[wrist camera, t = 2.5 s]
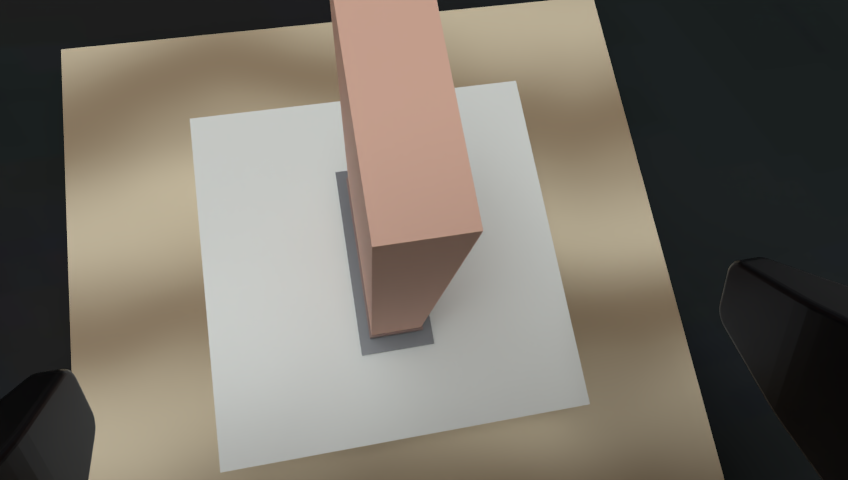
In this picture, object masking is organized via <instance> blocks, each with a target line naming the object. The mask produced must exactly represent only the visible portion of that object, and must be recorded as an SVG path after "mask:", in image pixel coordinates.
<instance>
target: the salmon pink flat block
mask: <svg viewBox="0 0 848 480" xmlns="http://www.w3.org/2000/svg"><path fill="white" fill-rule="evenodd" d="M330 7H331V17H332V26H333V36H334V46H335V55H336V65H337V75H338V84H339V94H340V104H341V114H342V123H343V133H344V143H345V152H346V162H347V172H348V178H346V182H347V188H348V195H349V202H350V208H351V215H352V222H353V228H354V235H355V242H356V249H357V255H358V262H359V269H360V275H361V282H362V289H363V295H364V302H365V309H366V316H367V322H368V329H369V336H370V339H371V338H377V337H383V336H389V335H395V334H402V333H408V332H414V331H420V330H423V323H424V322H425V320H426V319H427V317H428V316H429V314H430V312H431V311H432V309H433V308H434V306H435V305H436V303H437V302H438V300H439V299H440V297H441V295H442V294H443V292H444V291H445V289H446V288H447V286H448V285H449V283H450V282H451V280H452V278H453V277H454V275H455V274H456V272H457V271H458V269H459V268H460V266H461V265H462V263H463V261H464V260H465V258H466V257H467V255H468V254H469V252H470V251H471V249H472V248H473V246H474V245H475V243H476V241H477V240H478V238H479V237H480V235H481V234H482V232H483V227H482V222H481V217H480V212H479V207H478V202H477V197H476V192H475V187H474V182H473V177H472V173H471V168H470V163H469V158H468V153H467V148H466V143H465V138H464V133H463V128H462V123H461V118H460V113H459V108H458V103H457V98H456V93H455V88H454V83H453V78H452V73H451V69H450V64H449V59H448V54H447V49H446V44H445V39H444V34H443V29H442V24H441V19H440V14H439V9H438V4H437V0H330Z"/></svg>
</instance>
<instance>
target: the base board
mask: <svg viewBox="0 0 848 480" xmlns="http://www.w3.org/2000/svg"><path fill="white" fill-rule="evenodd" d="M439 14H440V19H441V24H442V29H443V34H444V39H445V44H446V49H447V54H448V59H449V64H450V69H451V73H452V78H453V83H454V88H457V87H466V86H475V85H483V84H492V83H500V82H509V81H516V83H517V88H518V92H519V96H520V101H521V105H522V109H523V114H524V118H525V122H526V127H527V131H528V136H529V140H530V144H531V149H532V153H533V157H534V162H535V166H536V170H537V175H538V179H539V184H540V188H541V192H542V197H543V201H544V205H545V210H546V214H547V218H548V223H549V227H550V232H551V236H552V240H553V245H554V249H555V253H556V258H557V262H558V266H559V271H560V275H561V280H562V284H563V288H564V293H565V297H566V301H567V306H568V310H569V314H570V319H571V323H572V328H573V332H574V336H575V341H576V345H577V349H578V354H579V358H580V362H581V367H582V371H583V376H584V380H585V384H586V389H587V393H588V397H589V402H590V404H588V405H583V406H578V407H572V408H567V409H561V410H556V411H551V412H545V413H540V414H534V415H529V416H524V417H518V418H513V419H508V420H502V421H497V422H491V423H486V424H481V425H475V426H470V427H464V428H459V429H454V430H448V431H443V432H437V433H432V434H427V435H421V436H416V437H410V438H405V439H400V440H394V441H389V442H383V443H378V444H373V445H367V446H362V447H356V448H351V449H346V450H340V451H335V452H329V453H324V454H319V455H313V456H308V457H302V458H297V459H292V460H286V461H281V462H275V463H270V464H265V465H259V466H254V467H248V468H243V469H238V470H232V471H227V472H222V473H220V463H219V452H218V440H217V429H216V417H215V406H214V394H213V382H212V371H211V359H210V348H209V336H208V325H207V313H206V301H205V290H204V278H203V267H202V255H201V244H200V232H199V221H198V209H197V197H196V186H195V174H194V163H193V151H192V140H191V128H190V119H191V118H199V117H208V116H217V115H225V114H234V113H242V112H251V111H260V110H268V109H277V108H285V107H294V106H303V105H311V104H320V103H328V102H337V101H340V94H339V84H338V75H337V65H336V55H335V46H334V36H333V26H332V22H331V23H321V24H311V25H301V26H291V27H281V28H271V29H261V30H251V31H241V32H231V33H221V34H211V35H201V36H191V37H182V38H172V39H162V40H152V41H142V42H132V43H122V44H112V45H102V46H92V47H82V48H72V49H62V50H61V60H62V91H63V121H64V152H65V183H66V213H67V244H68V274H69V305H70V336H71V366H72V373H73V374H74V375H75V377H76V378H77V381H78V383H79V385H80V387H81V389H82V391H83V393H84V395H85V397H86V399H87V401H88V403H89V406H90V408H91V410H92V412H93V415H94V418H95V425H96V431H95V439H94V445H93V452H92V459H91V466H90V473H89V479H88V480H724V476H723V473H722V469H721V465H720V462H719V458H718V454H717V451H716V447H715V443H714V440H713V436H712V432H711V429H710V425H709V421H708V418H707V414H706V410H705V407H704V403H703V399H702V396H701V392H700V388H699V385H698V381H697V377H696V374H695V370H694V366H693V363H692V359H691V355H690V352H689V348H688V344H687V341H686V337H685V333H684V330H683V326H682V322H681V319H680V315H679V311H678V308H677V304H676V300H675V297H674V293H673V289H672V286H671V282H670V278H669V275H668V271H667V267H666V263H665V260H664V256H663V252H662V249H661V245H660V241H659V238H658V234H657V230H656V227H655V223H654V219H653V216H652V212H651V208H650V205H649V201H648V197H647V194H646V190H645V186H644V183H643V179H642V175H641V172H640V168H639V164H638V161H637V157H636V153H635V150H634V146H633V142H632V139H631V135H630V131H629V128H628V124H627V120H626V117H625V113H624V109H623V106H622V102H621V98H620V95H619V91H618V87H617V84H616V80H615V76H614V73H613V69H612V65H611V62H610V58H609V54H608V51H607V47H606V43H605V40H604V36H603V32H602V29H601V25H600V21H599V18H598V14H597V10H596V7H595V3H594V0H549V1H540V2H530V3H520V4H510V5H500V6H490V7H480V8H470V9H460V10H450V11H440V12H439Z"/></svg>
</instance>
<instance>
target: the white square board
mask: <svg viewBox="0 0 848 480" xmlns="http://www.w3.org/2000/svg"><path fill="white" fill-rule="evenodd" d="M455 93H456V98H457V103H458V108H459V113H460V118H461V123H462V128H463V133H464V138H465V143H466V148H467V153H468V158H469V163H470V168H471V173H472V177H473V182H474V187H475V192H476V197H477V202H478V207H479V212H480V217H481V222H482V227H483V232H482V234H481V235H480V237H479V238H478V240H477V241H476V243H475V245H474V246H473V248H472V249H471V251H470V252H469V254H468V255H467V257H466V258H465V260H464V261H463V263H462V265H461V266H460V268H459V269H458V271H457V272H456V274H455V275H454V277H453V278H452V280H451V282H450V283H449V285H448V286H447V288H446V289H445V291H444V292H443V294H442V295H441V297H440V299H439V300H438V302H437V303H436V305H435V306H434V308H433V309H432V311H431V312H430V314H429V316H428V317H427V319H426V320H425V322H424V323H423V330H420V331H414V332H408V333H402V334H395V335H389V336H383V337H377V338H371V339H370V336H369V329H368V322H367V316H366V309H365V302H364V295H363V289H362V282H361V275H360V269H359V262H358V255H357V249H356V242H355V235H354V228H353V222H352V215H351V208H350V202H349V195H348V188H347V182H346V178H348V172H347V162H346V152H345V143H344V133H343V123H342V114H341V104H340V101H337V102H328V103H320V104H311V105H303V106H294V107H285V108H277V109H268V110H260V111H251V112H242V113H234V114H225V115H217V116H208V117H199V118H191V119H190V128H191V140H192V151H193V163H194V174H195V186H196V197H197V209H198V221H199V232H200V244H201V255H202V267H203V278H204V290H205V301H206V313H207V325H208V336H209V348H210V359H211V371H212V382H213V394H214V406H215V417H216V429H217V440H218V452H219V463H220V473H222V472H227V471H232V470H238V469H243V468H248V467H254V466H259V465H265V464H270V463H275V462H281V461H286V460H292V459H297V458H302V457H308V456H313V455H319V454H324V453H329V452H335V451H340V450H346V449H351V448H356V447H362V446H367V445H373V444H378V443H383V442H389V441H394V440H400V439H405V438H410V437H416V436H421V435H427V434H432V433H437V432H443V431H448V430H454V429H459V428H464V427H470V426H475V425H481V424H486V423H491V422H497V421H502V420H508V419H513V418H518V417H524V416H529V415H534V414H540V413H545V412H551V411H556V410H561V409H567V408H572V407H578V406H583V405H588V404H590V402H589V397H588V393H587V389H586V384H585V380H584V376H583V371H582V367H581V362H580V358H579V354H578V349H577V345H576V341H575V336H574V332H573V328H572V323H571V319H570V314H569V310H568V306H567V301H566V297H565V293H564V288H563V284H562V280H561V275H560V271H559V266H558V262H557V258H556V253H555V249H554V245H553V240H552V236H551V232H550V227H549V223H548V218H547V214H546V210H545V205H544V201H543V197H542V192H541V188H540V184H539V179H538V175H537V170H536V166H535V162H534V157H533V153H532V149H531V144H530V140H529V136H528V131H527V127H526V122H525V118H524V114H523V109H522V105H521V101H520V96H519V92H518V88H517V83H516V81H509V82H500V83H492V84H483V85H475V86H466V87H457V88H455Z"/></svg>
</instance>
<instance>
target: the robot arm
mask: <svg viewBox="0 0 848 480" xmlns="http://www.w3.org/2000/svg"><path fill="white" fill-rule="evenodd" d="M719 309H720V318H721V321H722V323H723V325H724V327H725V329H726V331H727V332H728V334H729V336H730V338H731V339H732V341H733V343H734V344H735V346H736V348H737V350H738V351H739V353H740V355H741V357H742V358H743V360H744V362H745V364H746V365H747V367H748V369H749V371H750V372H751V374H752V376H753V378H754V379H755V381H756V383H757V384H758V386H759V388H760V390H761V391H762V393H763V395H764V397H765V398H766V400H767V402H768V403H769V405H770V406H771V408H772V410H773V411H774V413H775V414H776V416H777V417H778V419H779V420H780V422H781V423H782V425H783V426H784V427H785V429H786V430H787V432H788V433H789V434H790V436H791V437H792V439H793V440H794V441H795V443H796V444H797V445H798V447H799V448H800V450H801V451H802V452H803V454H804V455H805V457H806V458H807V459H808V461H809V462H810V464H811V465H812V466H813V468H814V469H815V471H816V472H817V473H818V475H819V476H820V478H821V479H822V480H848V286H845V285H842V284H839V283H836V282H834V281H831V280H828V279H825V278H822V277H819V276H816V275H813V274H810V273H807V272H804V271H801V270H799V269H796V268H793V267H790V266H787V265H784V264H781V263H778V262H775V261H772V260H769V259H766V258H761V257H757V258H750V259H744V260H738V261H736V262H734V263H732V264H731V266H730V267H729V269H728V273H727V277H726V281H725V285H724V289H723V294H722V298H721V302H720V307H719ZM95 431H96V425H95V418H94V415H93V412H92V410H91V408H90V406H89V403H88V401H87V399H86V397H85V395H84V393H83V391H82V389H81V387H80V385H79V383H78V381H77V378H76V377H75V375H74V374H73V373H72V372H71V371H70V370H67V369H59V370H52V371H46V372H40V373H36V374H33V375H31V376H30V377H28V378H27V379H26V380H24V381H23V382H22V383H21V384H19V385H18V386H17V387H16V388H14V389H13V390H12V391H11V392H9V393H8V394H7V395H6V396H4V397H3V398H2V399H1V400H0V480H88V479H89V473H90V466H91V459H92V452H93V445H94V439H95Z"/></svg>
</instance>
